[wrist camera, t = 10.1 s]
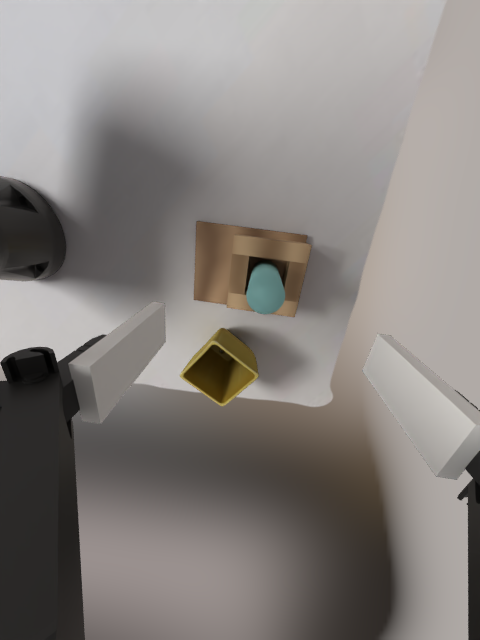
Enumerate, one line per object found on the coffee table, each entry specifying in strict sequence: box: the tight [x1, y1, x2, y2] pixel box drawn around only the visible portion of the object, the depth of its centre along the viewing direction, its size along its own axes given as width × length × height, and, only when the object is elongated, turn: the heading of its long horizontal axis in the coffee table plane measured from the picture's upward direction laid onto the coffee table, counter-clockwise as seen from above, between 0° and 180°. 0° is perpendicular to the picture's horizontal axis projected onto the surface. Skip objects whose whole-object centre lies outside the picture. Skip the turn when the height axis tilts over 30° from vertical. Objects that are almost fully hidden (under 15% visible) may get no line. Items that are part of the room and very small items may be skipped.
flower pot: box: [180, 328, 259, 406], centre depth 37 cm, size 9×9×9 cm
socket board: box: [194, 221, 312, 317], centre depth 33 cm, size 16×12×5 cm
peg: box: [246, 260, 285, 314], centre depth 28 cm, size 4×4×12 cm
